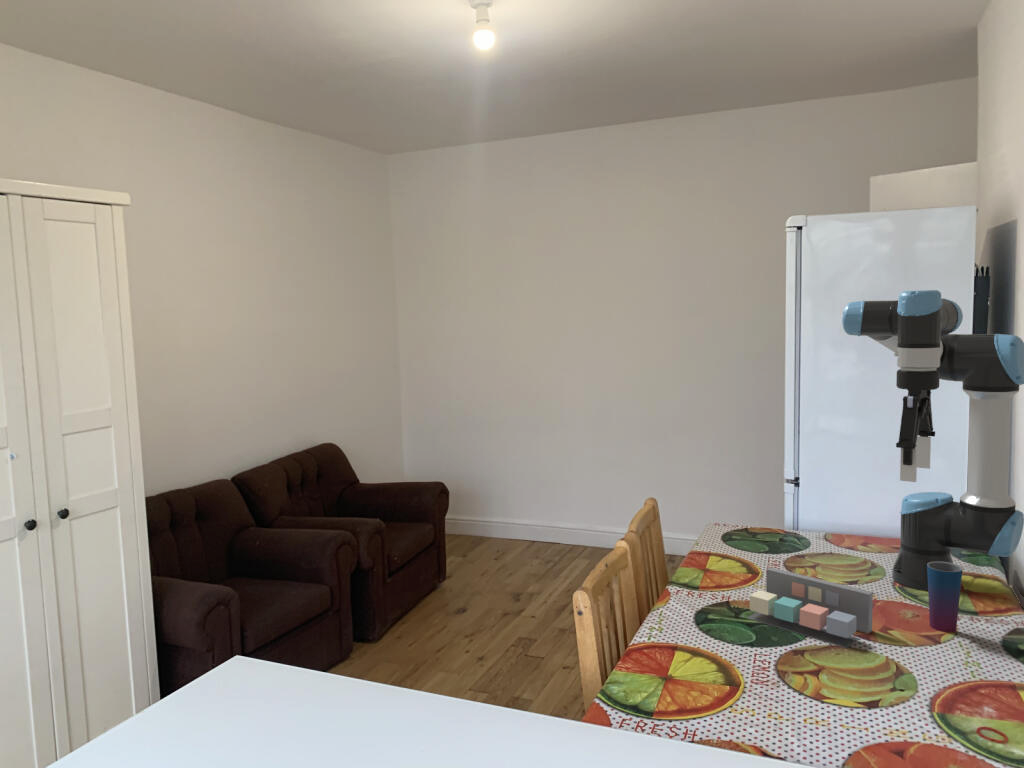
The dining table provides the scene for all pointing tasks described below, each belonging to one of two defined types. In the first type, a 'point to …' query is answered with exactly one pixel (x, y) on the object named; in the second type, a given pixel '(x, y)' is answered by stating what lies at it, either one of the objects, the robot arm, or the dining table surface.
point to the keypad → (818, 603)
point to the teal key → (787, 609)
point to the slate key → (841, 624)
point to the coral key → (814, 616)
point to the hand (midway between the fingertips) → (915, 474)
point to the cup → (944, 595)
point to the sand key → (762, 602)
